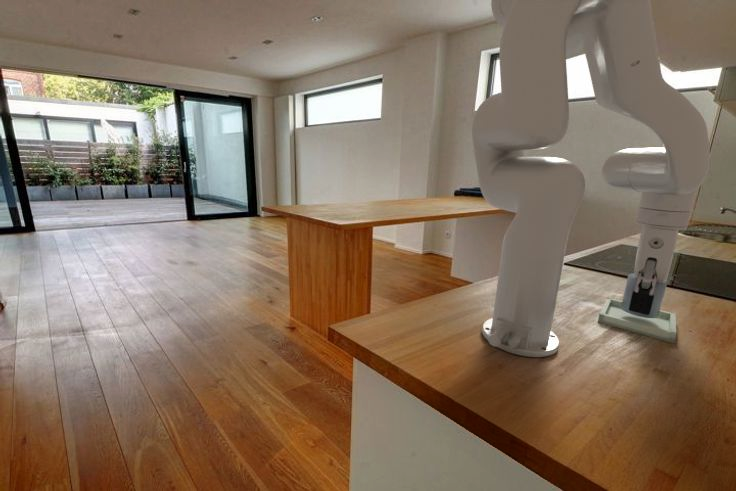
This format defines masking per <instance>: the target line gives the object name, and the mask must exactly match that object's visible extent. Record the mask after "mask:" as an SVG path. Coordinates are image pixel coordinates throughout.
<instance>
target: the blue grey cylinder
mask: <svg viewBox="0 0 736 491" xmlns="http://www.w3.org/2000/svg"><path fill="white" fill-rule="evenodd" d="M641 277H644V274H641ZM654 277H655V276H652V279H654ZM637 278H638V277H636V276H635V275H634V273H629V274H628V275H627V280H626V282H625V283H626V284H625V287H624V293H623V297H622V300H621V301H622V304H621V309H622V310H624V311H625V312H627V313H630V314H632V315H636V316H639V317H644V318H657V317H658V316H659V312H660V310H661V308H662V305H663V300H664V296H665V292H666V289H667V285H668V280H667V281H666V282H664V283H663V282H662V280H658V277H657V282H656V284H655V288H654V293H653V295H654V299H653V303H652V307H651V311H650V314H649V315H645V314H641V313H637V312H633V311H630V310H629V306H630V301H631V297H632V293H633V291H635V288H636V283H637ZM640 282H642V280H641V281H640ZM651 284H652V282H651Z"/></svg>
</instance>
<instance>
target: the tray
mask: <svg viewBox="0 0 736 491" xmlns="http://www.w3.org/2000/svg"><path fill="white" fill-rule="evenodd" d="M621 304H622V300H619V299H614V298H611V297H606V300H605V301H604V304H603V306H602V308H601V309H600V313H599V316H598V319H597V323H601V324H604V325H607V326H610V327H614V328H618V329H621V330H625V331H627V332H633V333H636V334H639V335H643V336H646V337H649V338H653V339H657V340H660V341H664V342H667V343H671V344H675V342H676V337H677V319H676V318H677V317H676V315H677V314H676V313H674V312H670V311H666V310H662V309H660V312H659V316H658V317H657V318H644V317H639V316H636V315H632V314H630V313H627V312H625V311H624V310H622V309H621Z"/></svg>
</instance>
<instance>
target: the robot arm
mask: <svg viewBox="0 0 736 491" xmlns="http://www.w3.org/2000/svg"><path fill="white" fill-rule="evenodd" d="M490 2H491V3H490V4H491V5H490V6H491V12H492V15H493V17H494V19H495V21H496V23H497V24H498V25H499V27H501V28H502V33H501V37H500V41H499V42H500V43H499V52H498V54H499V59H498V60H499V71H500V72H499V75H500V76H499V77H500V87H501V88H500V89H501V91H500V92H498V93H495V94H492V95H490V96H489V97H487V98H486V99H485V100H484V101H483V102H482V103H481V104H480V105H479V106H478V108H477V110H476V112H475V114H474V116H473V121H472V127H471V136H472V146H473V152H474V159H475V166H476V172H477V178H478V184H479V187H480V192H481V194H482V197H483V198H484V200H485V201H486V203H488V204H489V205H490V206H492V207H494V208H497V209H499V210H503V211H507V212H511V213H514V214H515V213H516V214H515V215H514V217H513V219H512V221H511V222H510V224H509V225H508V227H507V229H506V231H505V233H504V237H503V240H502V244H501V250H500V251H501V252H500V253H501V254H500V262H499V269H498V275H497V276H498V277H497V283H496V290H495V291H496V293H495V299H494V305H493V306H494V307H493V313H492V314H493V315H492V317H491V318H489V319H487V320H485V321H484V322H483V324H482V329H481V332H482V335H483V337H484V338H485V339H486V340H487V342H488V343H489V344H490V346H493V347H495V348H498V349H500V350H503V351H505V352H507V353H511V354H512V355H513V354H514V355H517V356H522V357H527V358H543V357H549V356H551V355H554V354H555V353H557V352H558V350H559V348H560V347H559V346H560V340H559V338H558V336H557V335H556V334H555V333H554V332H553V331H552V325H553V320H554V315H555V309H556V303H557V301H558V300H557V299H558V293H559V289H560V288H559V287H560V282H561V277H562V271H563V266H564V260H565V254H566V249H567V244H568V240H569V235H570V231H571V228H572V226H573V222H574V219H575V217H576V215H577V212H578V210H579V208H580V205H581V203H582V200H583V198H584V196H585V195H584V194H585V191H586V190H585V189H586V179H585V175H584V174H583V172H582V170H581V168H579V167H578V165H577V164H575V163H573V162H572V161H570V160H567V159H565V158H560V157H552V156H524V155H525V154H524V151H537V150H544V149H547V148H548V149H549V148H550V147H553V146H555V145H557V144H558V143H560V142H561V141H562V140H563V138H564V137H565V135H566V134H567V131H568V127H569V120H570V119H569V118H570V108H569V107H570V104H569V103H570V102H569V87H568V86H569V85H568V73H567V71H568V70H567V69H568V68H567V60H570V59H572V58H575V57H579V56H582V55H584V56H585V58H586V62H587V66H588V67H587V68H588V72H589V74H590V75H589V76H590V80H591V86H592V89H593V94H594V98H595V101H596V103H597V104H598V105H599V106H600V107H602V108H603V109H607V110H609V111H611V112H613V113H617V114H619V115H623V116H625V117H628V118H630V119H633V120H636V121H638V122H639V123H642V124H643V125H645V126H646V127H648V128H649V129H650V130H652V131H653V133H655V134H656V136H657V137H658V138H659V140H661V142H662V144H663V146H661V147H656V146H655V147H632V148H625V149H621V150H618V151H615V152H614V153H612V154H610V155H609V157H607V158H606V160H605V161H604V162H603V165H602V168H601V175H602V179H603V180H604V182H605V183H606V184H607V185H608V186H609V187H611V188H612V189H616V190H619V191H626V192H627V191H628V192H635V193H636V192H637V193H641V195H640V196H641V197H640V199H639V201H640V202H639V205H638V209H637V213H636V218H635V223H634V224H635V225H637V226H640V227H641V231H640V234H639V239H638V245H637V250H636V256H635V264H634V270H633V271H634V272H633V274H634V275H635V276H636V277H638V278H637V283H636V288H635V291H633V293H632V297H631V301H630V306H629V310H630V311H633V312H637V313H641V314H645V315H649V314H650V311H651V307H652V303H653V299H654V295H653V293H654V288H655V284H656V282H657V277H658V280H662V282H663V283H664V282H666V281H667V282H668V277H669V273H670V269H671V265H672V261H673V258H674V254H675V251H676V246H677V241H678V235H679V231H686V230H688V227H689V226H688V225H689V223H690V219H691V215H692V211H693V206H694V203H695V199H696V196H697V194H698V193H697V192H698V189H699V188H700V187H701V186H702V185H703V183H704V182H705V180H706V179H707V177H708V174H709V171H710V167H711V166H710V163H711V152H710V151H711V150H710V140H709V133H708V127H707V123H706V121H705V119H704V117H703V115H702V114H701V112H700V111H699V110H698V108H697V107H695V106H694V104H692V102H691V101H690V100H689V99H688V98H687V97H686V96H685V95H683V93H681V92H680V91H679V90H677V89H676V88H675V87H673V86H672V85H670V84H669V83H668V82H667V81H665V78H664V77H663V74H662V68H661V62H660V55H659V48H658V42H657V41H658V40H657V34H656V27H655V21H654V13H653V9H652V8H653V7H652V2H651V0H491V1H490ZM641 274H644V277H641ZM652 276H655V277H654V279H652ZM641 280H642V282H640V281H641ZM651 282H652V284H651Z"/></svg>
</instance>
